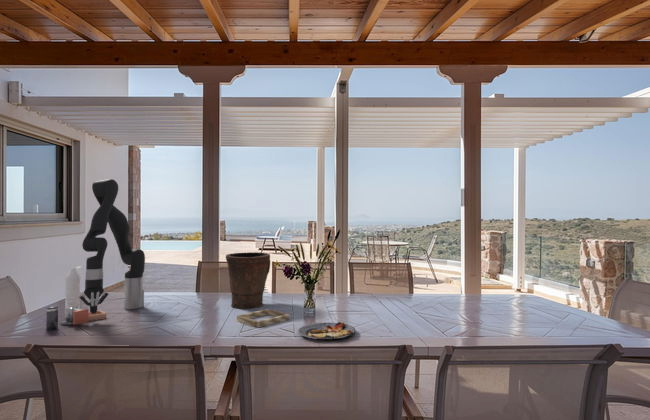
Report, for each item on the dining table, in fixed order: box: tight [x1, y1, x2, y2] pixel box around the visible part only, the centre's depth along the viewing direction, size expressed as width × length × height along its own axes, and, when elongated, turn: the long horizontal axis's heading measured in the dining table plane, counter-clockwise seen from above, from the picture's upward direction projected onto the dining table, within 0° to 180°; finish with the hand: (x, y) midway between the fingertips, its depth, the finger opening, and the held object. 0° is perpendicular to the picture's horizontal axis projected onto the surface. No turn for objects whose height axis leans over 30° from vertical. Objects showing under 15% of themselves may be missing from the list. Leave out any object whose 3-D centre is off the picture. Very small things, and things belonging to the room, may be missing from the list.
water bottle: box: [64, 265, 83, 318], centre depth 204 cm, size 9×6×25 cm
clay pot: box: [225, 251, 271, 310], centre depth 229 cm, size 25×29×30 cm
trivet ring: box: [236, 308, 290, 328], centre depth 194 cm, size 21×18×2 cm
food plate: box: [298, 321, 356, 340], centre depth 171 cm, size 25×23×4 cm
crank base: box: [60, 319, 74, 326], centre depth 189 cm, size 9×9×1 cm
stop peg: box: [45, 305, 59, 332], centre depth 178 cm, size 4×4×10 cm
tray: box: [88, 309, 107, 322], centre depth 197 cm, size 9×9×2 cm
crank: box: [65, 307, 90, 326], centre depth 187 cm, size 12×6×6 cm, turn 57°
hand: (93, 313), depth 190 cm, fingers closed
